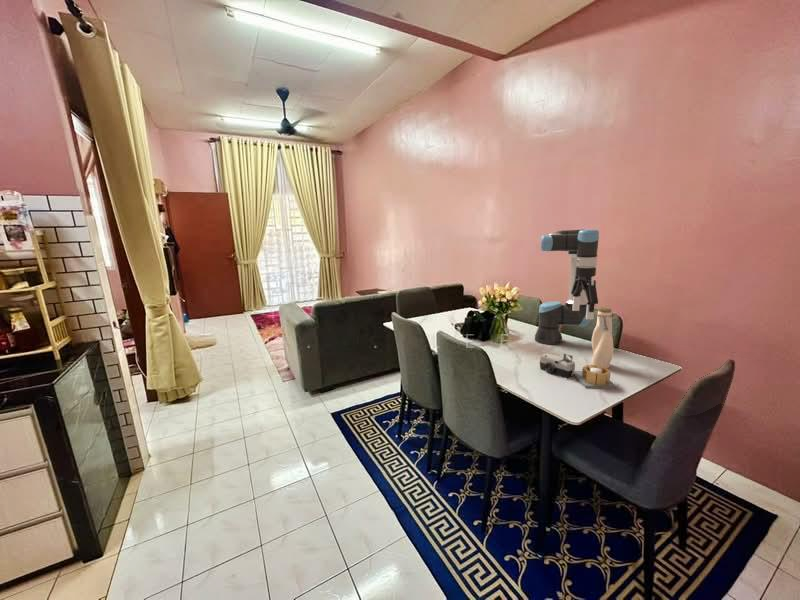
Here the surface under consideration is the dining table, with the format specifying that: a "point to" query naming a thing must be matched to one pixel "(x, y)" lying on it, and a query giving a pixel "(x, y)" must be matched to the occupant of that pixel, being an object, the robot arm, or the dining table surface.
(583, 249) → the robot arm
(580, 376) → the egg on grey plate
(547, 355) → the camera
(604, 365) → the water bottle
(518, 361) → the dining table surface
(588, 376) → the ring
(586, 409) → the dining table surface
